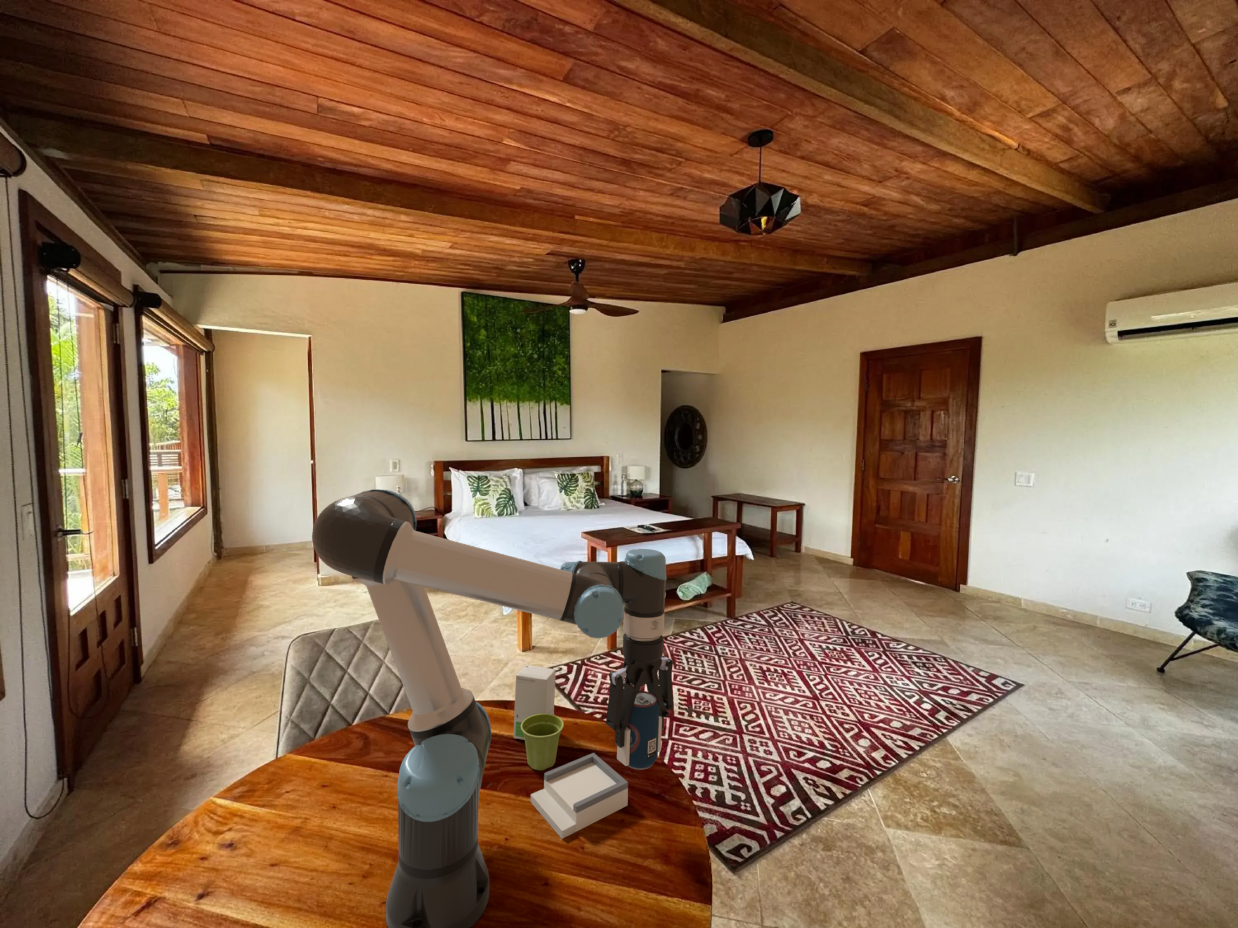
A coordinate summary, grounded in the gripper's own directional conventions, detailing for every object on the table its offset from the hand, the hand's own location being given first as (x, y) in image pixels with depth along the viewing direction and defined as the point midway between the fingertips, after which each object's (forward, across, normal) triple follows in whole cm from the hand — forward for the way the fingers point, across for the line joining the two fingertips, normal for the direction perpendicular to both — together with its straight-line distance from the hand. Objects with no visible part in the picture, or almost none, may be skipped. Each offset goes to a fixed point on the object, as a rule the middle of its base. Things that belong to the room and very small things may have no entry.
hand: (639, 754), depth 99 cm
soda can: (+1, 0, 0) cm, 1 cm away
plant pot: (+14, -6, +27) cm, 31 cm away
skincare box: (+14, -2, +38) cm, 40 cm away
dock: (+13, -6, +11) cm, 18 cm away
